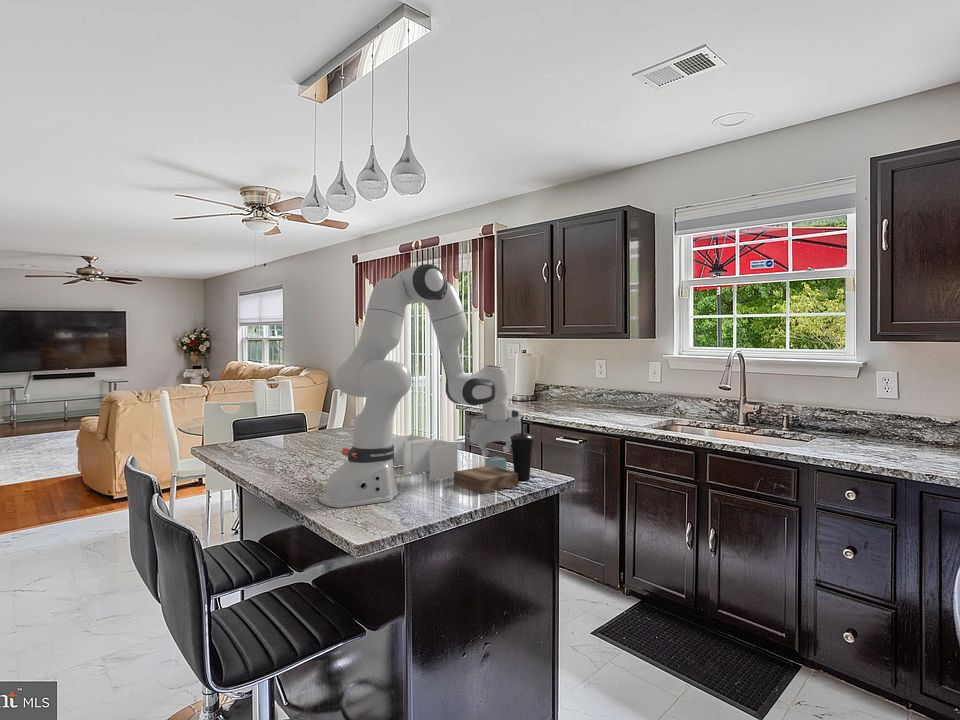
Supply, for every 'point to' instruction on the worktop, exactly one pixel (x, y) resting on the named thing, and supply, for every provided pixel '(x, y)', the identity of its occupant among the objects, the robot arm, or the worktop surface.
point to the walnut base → (485, 479)
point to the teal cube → (496, 462)
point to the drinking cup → (522, 453)
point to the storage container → (425, 456)
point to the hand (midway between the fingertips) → (496, 453)
